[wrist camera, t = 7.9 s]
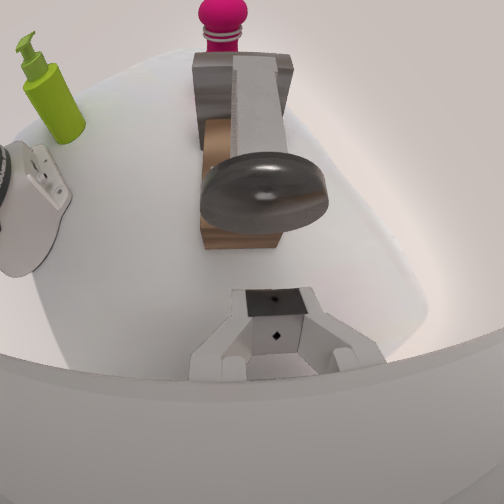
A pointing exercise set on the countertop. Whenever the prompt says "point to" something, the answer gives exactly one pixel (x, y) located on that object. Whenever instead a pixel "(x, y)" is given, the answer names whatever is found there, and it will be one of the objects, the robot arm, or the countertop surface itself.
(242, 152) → the plunger
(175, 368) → the countertop surface
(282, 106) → the stand
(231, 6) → the pepper mill
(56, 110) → the soap dispenser
